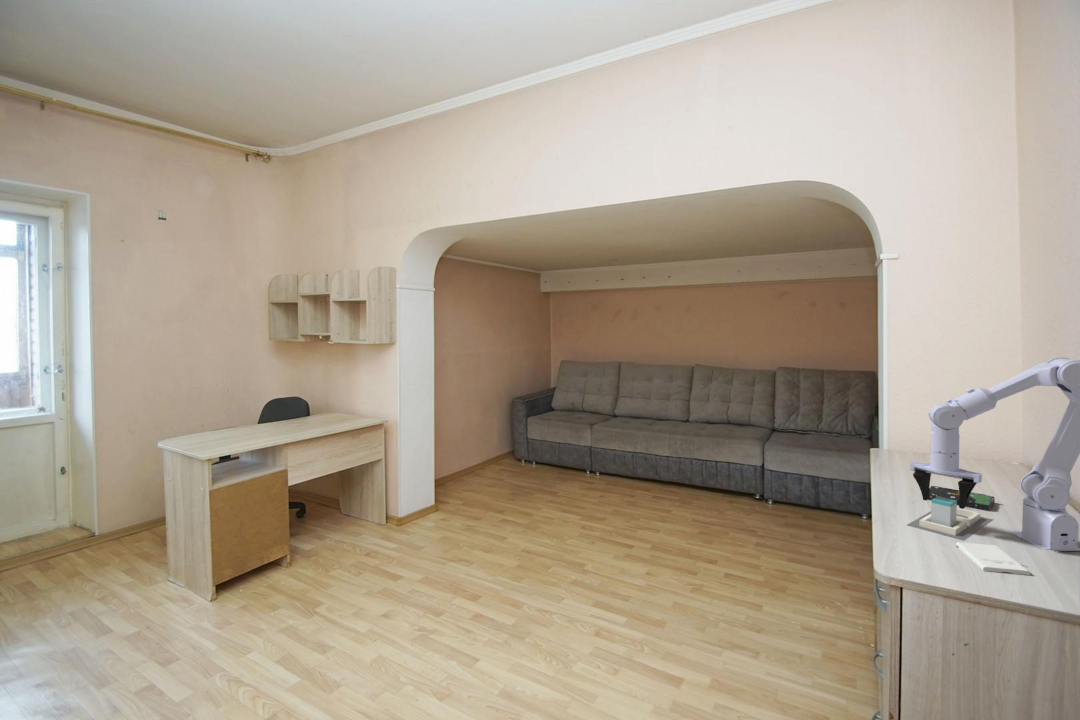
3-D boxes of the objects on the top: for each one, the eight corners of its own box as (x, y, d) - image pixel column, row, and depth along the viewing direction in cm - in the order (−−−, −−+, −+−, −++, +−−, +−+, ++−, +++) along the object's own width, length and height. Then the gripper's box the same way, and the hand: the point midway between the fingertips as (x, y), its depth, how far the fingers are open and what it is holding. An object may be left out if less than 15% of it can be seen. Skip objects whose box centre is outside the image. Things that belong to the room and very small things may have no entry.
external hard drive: (997, 552, 119) (1030, 578, 108) (955, 548, 122) (982, 573, 110) (998, 545, 119) (1030, 570, 107) (956, 541, 122) (983, 565, 110)
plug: (949, 531, 129) (950, 503, 128) (931, 526, 132) (931, 499, 132) (956, 527, 131) (956, 500, 131) (937, 522, 134) (938, 496, 134)
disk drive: (923, 503, 151) (990, 514, 141) (923, 493, 151) (990, 504, 140) (930, 494, 158) (994, 504, 148) (931, 485, 158) (994, 495, 147)
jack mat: (963, 542, 123) (963, 540, 123) (906, 526, 133) (906, 525, 133) (993, 521, 135) (993, 519, 135) (938, 508, 145) (938, 506, 145)
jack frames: (955, 535, 126) (955, 529, 126) (919, 525, 133) (919, 520, 132) (980, 518, 136) (980, 513, 136) (945, 510, 142) (945, 505, 142)
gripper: (986, 453, 126) (985, 507, 127) (918, 443, 138) (917, 492, 139) (976, 459, 122) (975, 514, 123) (906, 448, 134) (906, 498, 135)
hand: (943, 503), depth 131 cm, fingers open, 7 cm apart
